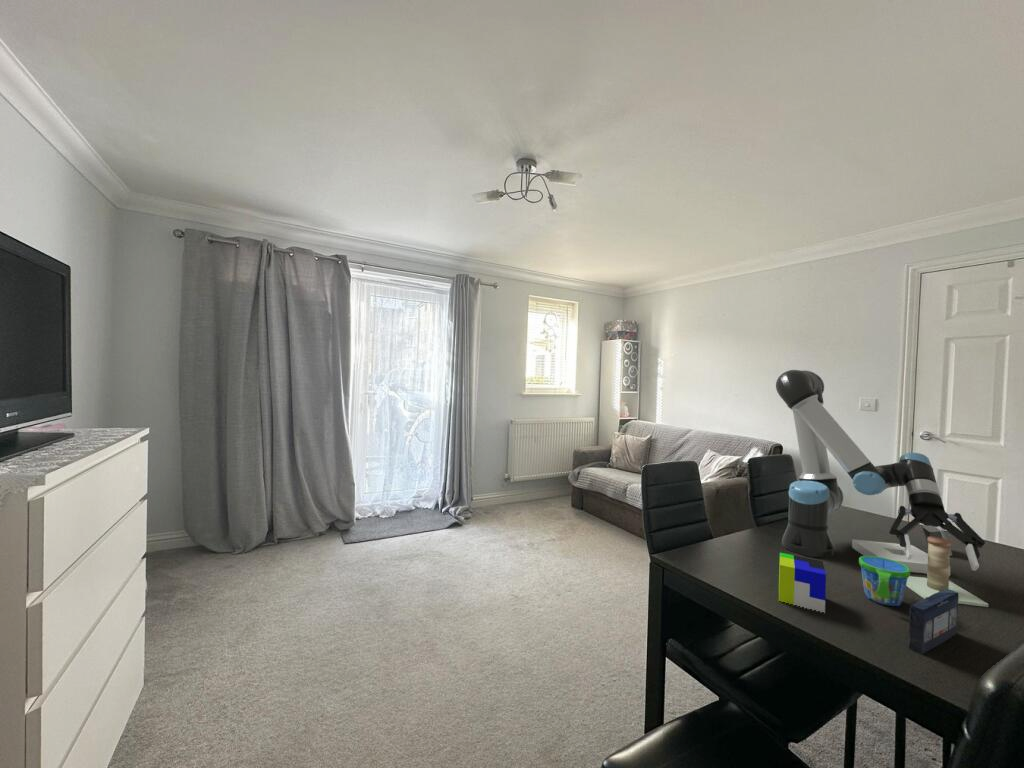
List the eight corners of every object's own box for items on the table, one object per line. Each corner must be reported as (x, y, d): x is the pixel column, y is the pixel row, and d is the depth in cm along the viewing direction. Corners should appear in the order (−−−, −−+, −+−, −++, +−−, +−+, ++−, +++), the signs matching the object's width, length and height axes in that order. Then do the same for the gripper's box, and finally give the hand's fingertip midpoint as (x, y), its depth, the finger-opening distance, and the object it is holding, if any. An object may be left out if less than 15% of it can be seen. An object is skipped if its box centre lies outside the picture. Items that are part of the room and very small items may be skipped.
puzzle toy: (824, 613, 109) (826, 574, 109) (778, 601, 114) (779, 564, 114) (821, 597, 117) (822, 561, 117) (778, 587, 123) (779, 552, 123)
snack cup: (906, 618, 107) (907, 578, 107) (853, 602, 115) (854, 564, 115) (911, 598, 118) (912, 561, 118) (862, 584, 125) (863, 550, 125)
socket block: (881, 568, 137) (882, 559, 137) (852, 547, 154) (852, 539, 154) (950, 576, 132) (950, 566, 132) (911, 553, 150) (911, 545, 150)
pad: (925, 599, 117) (925, 596, 117) (893, 576, 131) (893, 574, 131) (988, 607, 114) (988, 604, 114) (949, 583, 127) (949, 580, 127)
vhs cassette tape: (922, 655, 93) (923, 610, 93) (905, 647, 95) (906, 603, 95) (960, 635, 101) (961, 593, 100) (943, 628, 103) (944, 587, 103)
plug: (932, 590, 121) (934, 541, 121) (921, 582, 125) (923, 535, 125) (953, 593, 120) (955, 543, 119) (942, 585, 124) (943, 537, 124)
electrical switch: (953, 557, 148) (950, 530, 148) (932, 555, 150) (930, 528, 150) (941, 548, 156) (939, 522, 156) (923, 546, 158) (920, 521, 159)
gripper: (976, 510, 130) (999, 579, 117) (870, 497, 142) (881, 558, 129) (985, 497, 125) (1010, 567, 112) (875, 485, 137) (887, 547, 124)
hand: (941, 562), depth 120 cm, fingers open, 13 cm apart
